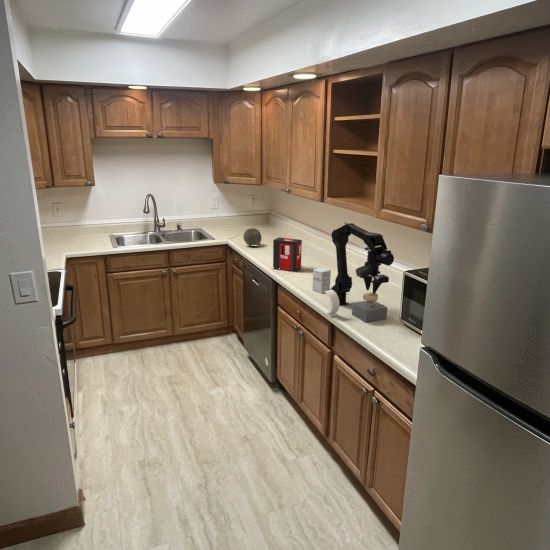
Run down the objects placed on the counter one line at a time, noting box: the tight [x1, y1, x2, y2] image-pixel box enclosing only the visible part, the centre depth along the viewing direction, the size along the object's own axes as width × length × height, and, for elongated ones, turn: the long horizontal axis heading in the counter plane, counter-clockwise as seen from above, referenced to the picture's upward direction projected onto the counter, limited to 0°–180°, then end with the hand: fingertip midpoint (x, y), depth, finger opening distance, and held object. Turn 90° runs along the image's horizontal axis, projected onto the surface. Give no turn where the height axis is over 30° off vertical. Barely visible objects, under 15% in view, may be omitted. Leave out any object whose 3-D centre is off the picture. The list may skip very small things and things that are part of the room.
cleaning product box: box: [272, 236, 303, 273], centre depth 296 cm, size 16×9×20 cm, turn 65°
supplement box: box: [312, 267, 332, 294], centre depth 255 cm, size 7×7×13 cm
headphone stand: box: [323, 289, 340, 318], centre depth 219 cm, size 5×6×12 cm
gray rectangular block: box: [351, 300, 388, 324], centre depth 219 cm, size 12×14×6 cm
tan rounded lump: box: [362, 291, 379, 306], centre depth 217 cm, size 7×7×6 cm
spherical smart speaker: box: [242, 227, 262, 246], centre depth 358 cm, size 14×14×15 cm
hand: (370, 291), depth 215 cm, fingers open, 5 cm apart
